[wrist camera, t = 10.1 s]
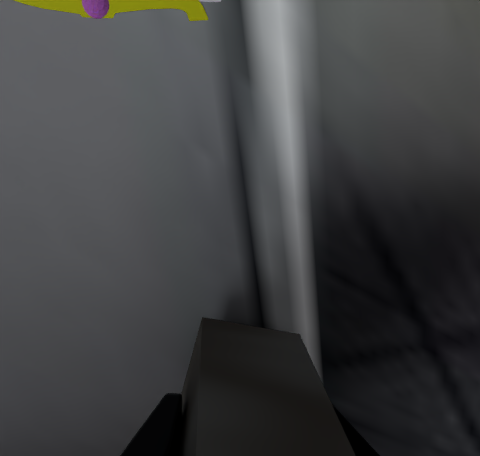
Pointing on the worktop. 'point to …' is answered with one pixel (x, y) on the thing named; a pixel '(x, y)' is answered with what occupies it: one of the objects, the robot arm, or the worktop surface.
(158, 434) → the robot arm
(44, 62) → the worktop surface
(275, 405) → the wooden mallet
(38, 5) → the decorative knife
